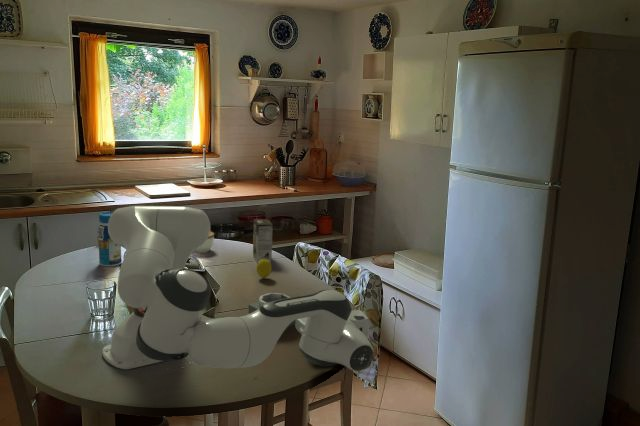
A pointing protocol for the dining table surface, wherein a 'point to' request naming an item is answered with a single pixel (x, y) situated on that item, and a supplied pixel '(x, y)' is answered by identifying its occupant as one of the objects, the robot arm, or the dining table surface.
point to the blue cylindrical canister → (107, 243)
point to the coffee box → (262, 239)
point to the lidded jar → (206, 244)
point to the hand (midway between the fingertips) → (322, 311)
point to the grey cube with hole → (268, 298)
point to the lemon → (264, 268)
